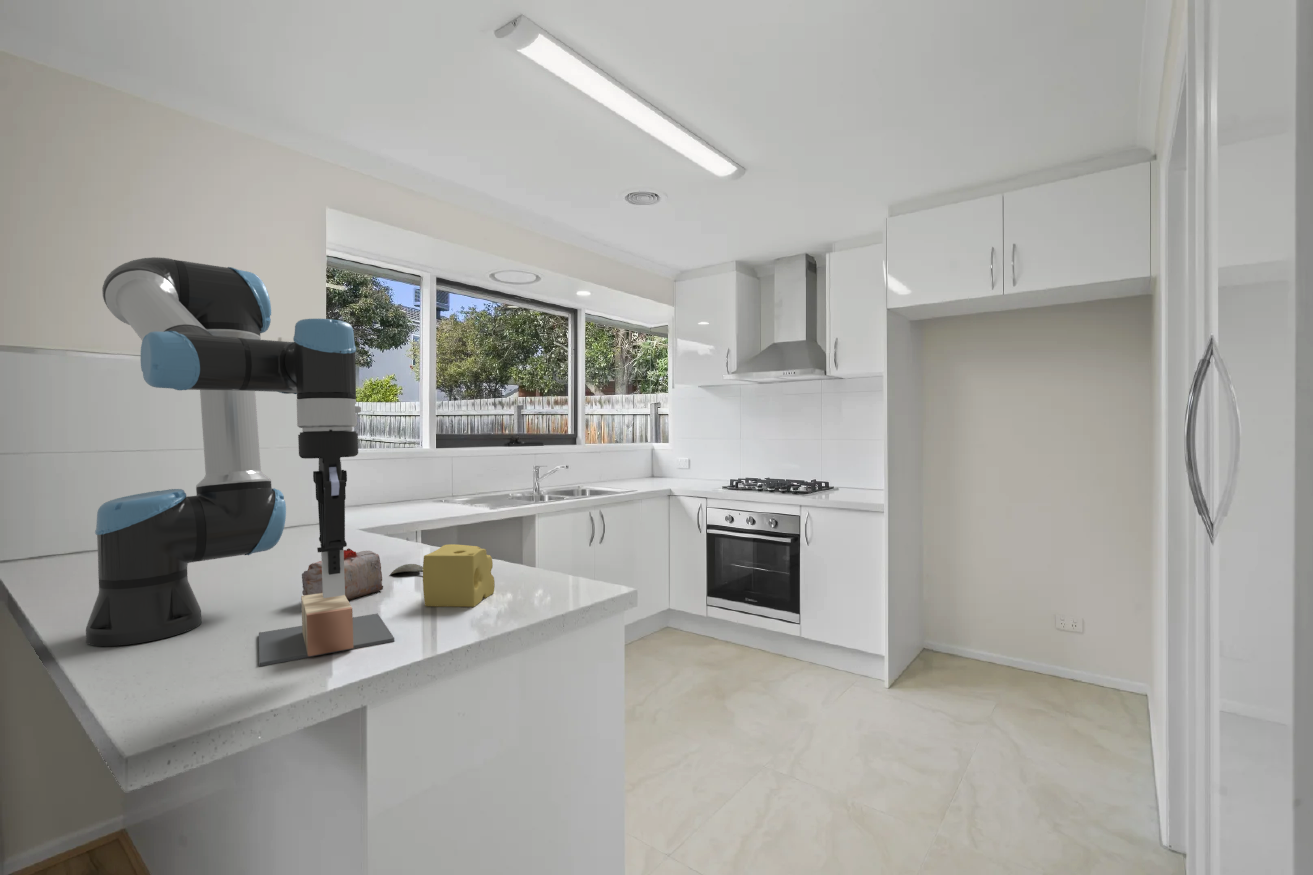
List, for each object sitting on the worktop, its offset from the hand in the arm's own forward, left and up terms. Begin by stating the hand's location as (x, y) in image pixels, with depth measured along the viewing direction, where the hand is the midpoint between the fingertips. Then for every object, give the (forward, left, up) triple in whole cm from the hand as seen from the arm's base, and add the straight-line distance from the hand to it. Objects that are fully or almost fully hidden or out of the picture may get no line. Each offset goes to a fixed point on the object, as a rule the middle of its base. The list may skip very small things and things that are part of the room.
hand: (333, 595), depth 90 cm
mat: (0, +13, -10) cm, 17 cm away
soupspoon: (+23, +47, -11) cm, 54 cm away
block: (0, +4, -6) cm, 8 cm away
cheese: (+24, +23, -10) cm, 35 cm away
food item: (+5, +39, -10) cm, 41 cm away
